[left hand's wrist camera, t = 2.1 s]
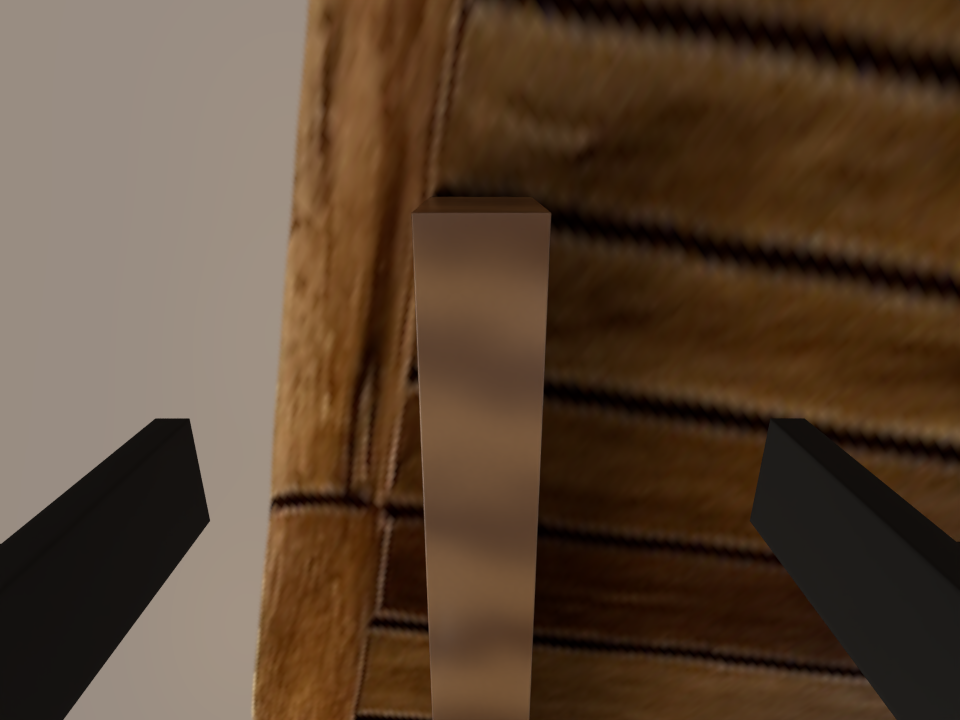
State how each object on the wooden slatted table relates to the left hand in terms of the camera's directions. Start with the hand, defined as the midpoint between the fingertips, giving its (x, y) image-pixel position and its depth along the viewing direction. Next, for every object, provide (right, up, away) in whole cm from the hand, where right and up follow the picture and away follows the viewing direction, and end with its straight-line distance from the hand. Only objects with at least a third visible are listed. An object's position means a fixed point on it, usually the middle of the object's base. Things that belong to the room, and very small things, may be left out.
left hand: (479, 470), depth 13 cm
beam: (0, -12, +21) cm, 24 cm away
